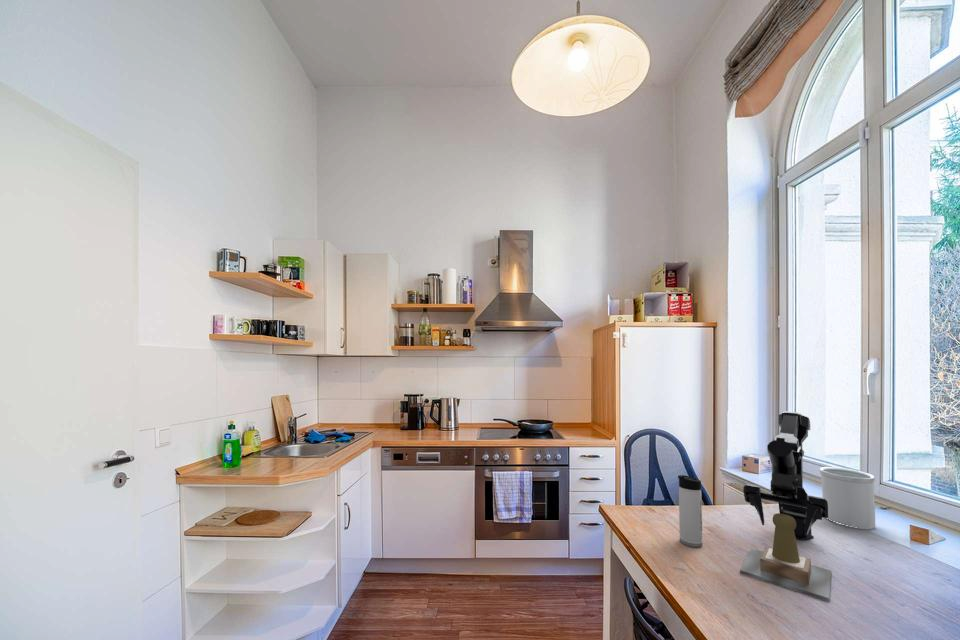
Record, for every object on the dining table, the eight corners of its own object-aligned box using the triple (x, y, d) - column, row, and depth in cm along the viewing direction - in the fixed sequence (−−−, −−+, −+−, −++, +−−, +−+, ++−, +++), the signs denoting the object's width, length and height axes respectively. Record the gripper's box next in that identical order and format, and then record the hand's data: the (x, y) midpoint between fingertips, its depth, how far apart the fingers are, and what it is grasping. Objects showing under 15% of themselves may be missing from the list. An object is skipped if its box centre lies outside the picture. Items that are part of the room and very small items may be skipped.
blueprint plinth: (740, 573, 108) (739, 557, 108) (751, 551, 121) (751, 537, 121) (829, 601, 96) (828, 583, 96) (831, 573, 109) (830, 557, 110)
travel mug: (674, 538, 128) (673, 473, 130) (694, 538, 129) (693, 473, 131) (686, 547, 122) (685, 479, 124) (707, 547, 122) (705, 479, 124)
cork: (802, 565, 105) (800, 521, 106) (773, 559, 108) (771, 516, 109) (797, 556, 110) (796, 513, 111) (770, 550, 113) (769, 509, 114)
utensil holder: (866, 533, 137) (863, 479, 139) (814, 517, 150) (811, 468, 152) (885, 526, 144) (882, 475, 145) (833, 511, 157) (831, 465, 159)
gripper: (743, 455, 120) (739, 504, 110) (825, 467, 108) (829, 522, 99) (747, 477, 125) (743, 525, 116) (826, 491, 114) (830, 545, 104)
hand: (783, 529), depth 109 cm, fingers open, 9 cm apart
